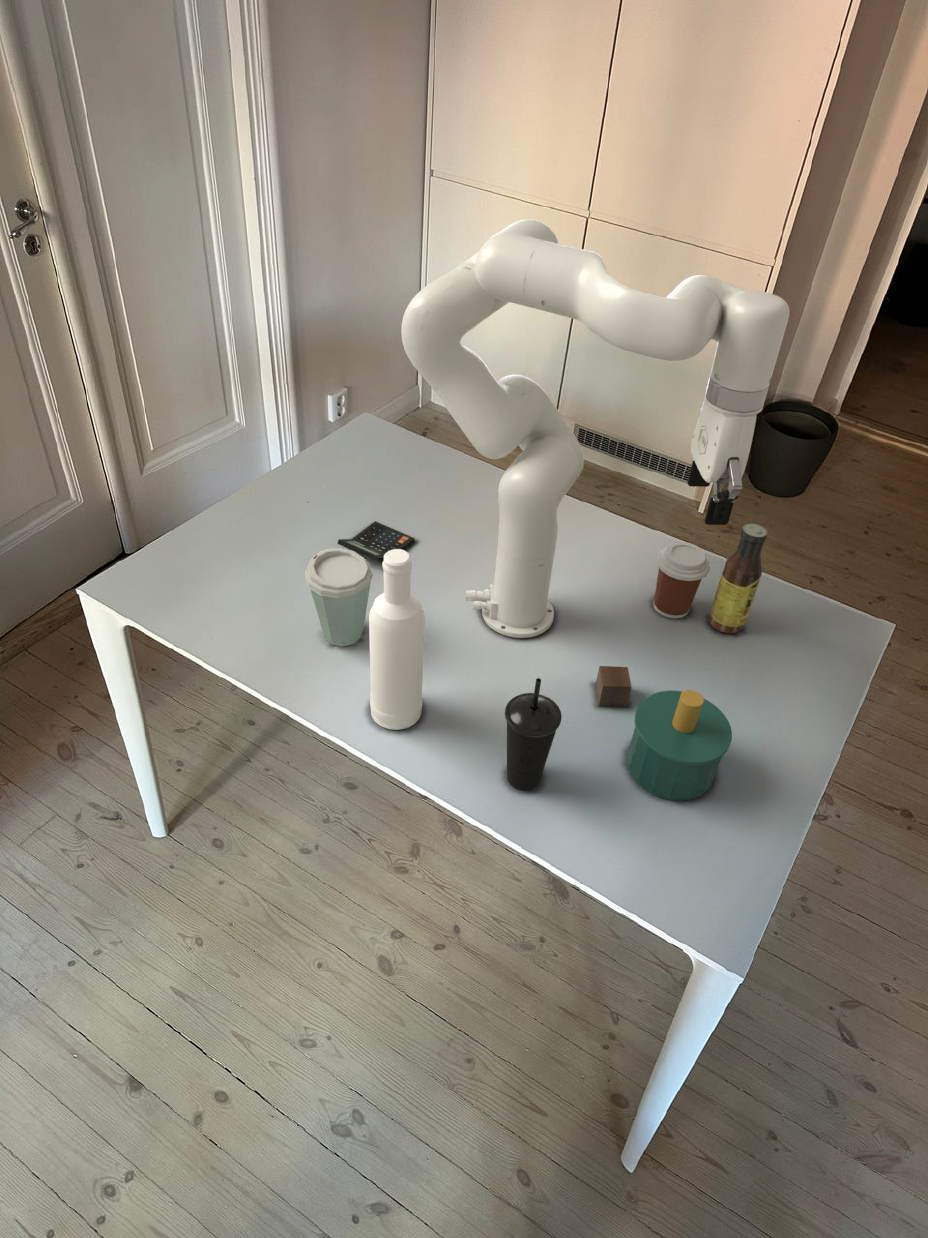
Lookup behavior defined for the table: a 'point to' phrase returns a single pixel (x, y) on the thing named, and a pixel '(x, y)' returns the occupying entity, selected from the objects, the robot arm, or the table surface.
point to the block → (613, 686)
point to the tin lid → (683, 727)
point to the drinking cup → (529, 736)
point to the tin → (668, 773)
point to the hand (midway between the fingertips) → (706, 503)
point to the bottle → (396, 647)
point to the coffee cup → (679, 578)
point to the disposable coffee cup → (340, 593)
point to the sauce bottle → (739, 581)
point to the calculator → (377, 541)
